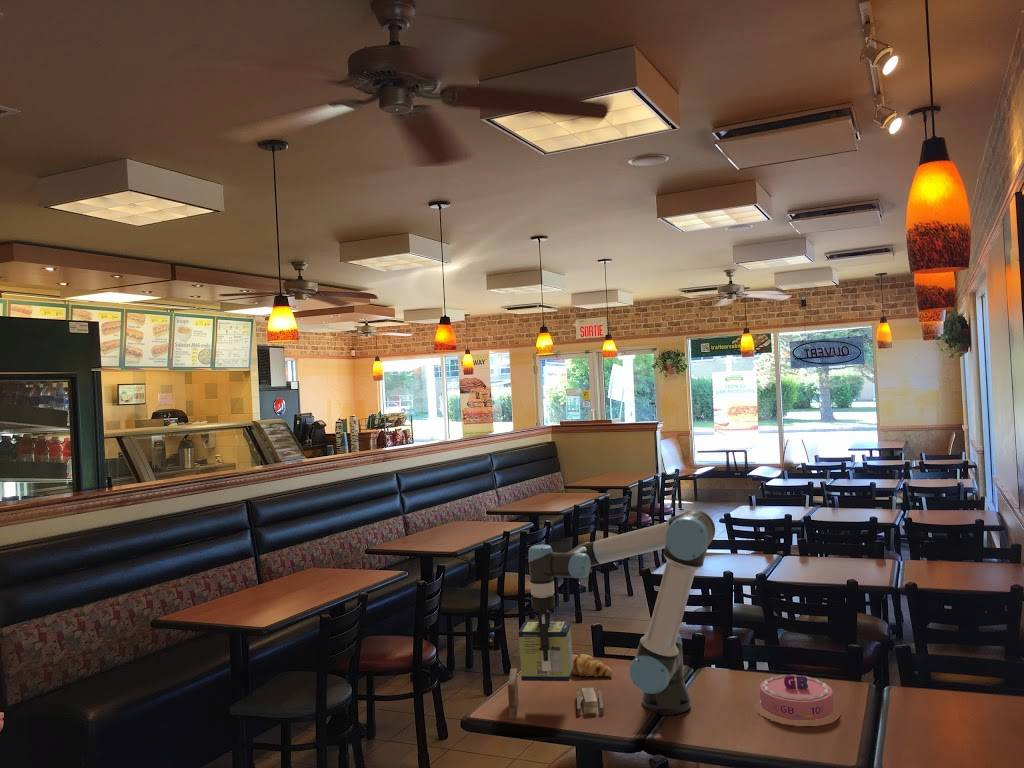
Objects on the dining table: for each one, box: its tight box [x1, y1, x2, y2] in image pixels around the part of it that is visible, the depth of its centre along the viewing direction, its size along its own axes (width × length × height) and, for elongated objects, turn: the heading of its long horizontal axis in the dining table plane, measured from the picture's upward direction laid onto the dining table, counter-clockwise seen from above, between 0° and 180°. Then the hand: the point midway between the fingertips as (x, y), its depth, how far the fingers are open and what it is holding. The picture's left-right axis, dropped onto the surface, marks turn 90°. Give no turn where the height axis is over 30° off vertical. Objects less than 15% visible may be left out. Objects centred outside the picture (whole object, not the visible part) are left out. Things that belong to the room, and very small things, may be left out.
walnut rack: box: [507, 667, 605, 721], centre depth 251 cm, size 29×14×11 cm, turn 86°
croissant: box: [572, 653, 613, 678], centre depth 282 cm, size 21×10×8 cm, turn 59°
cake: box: [759, 674, 835, 720], centre depth 242 cm, size 25×25×11 cm
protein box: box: [517, 621, 574, 682], centre depth 252 cm, size 10×16×16 cm
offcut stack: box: [581, 687, 598, 714], centre depth 251 cm, size 4×12×4 cm, turn 176°
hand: (546, 663), depth 251 cm, fingers closed on protein box, 11 cm apart
